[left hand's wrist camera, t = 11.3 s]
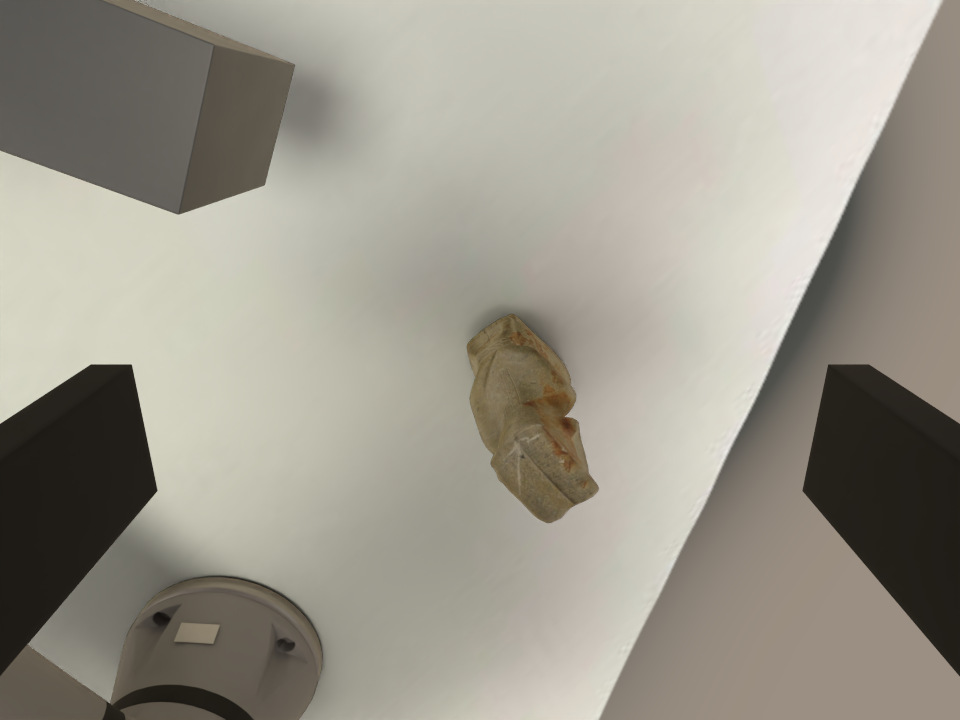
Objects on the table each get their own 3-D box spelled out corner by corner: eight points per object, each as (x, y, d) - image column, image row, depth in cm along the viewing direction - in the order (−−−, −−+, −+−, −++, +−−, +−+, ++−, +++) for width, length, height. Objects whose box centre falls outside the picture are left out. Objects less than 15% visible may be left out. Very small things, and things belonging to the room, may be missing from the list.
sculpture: (511, 417, 46) (524, 553, 32) (450, 337, 44) (437, 444, 30) (582, 373, 45) (628, 494, 31) (524, 289, 42) (545, 377, 28)
